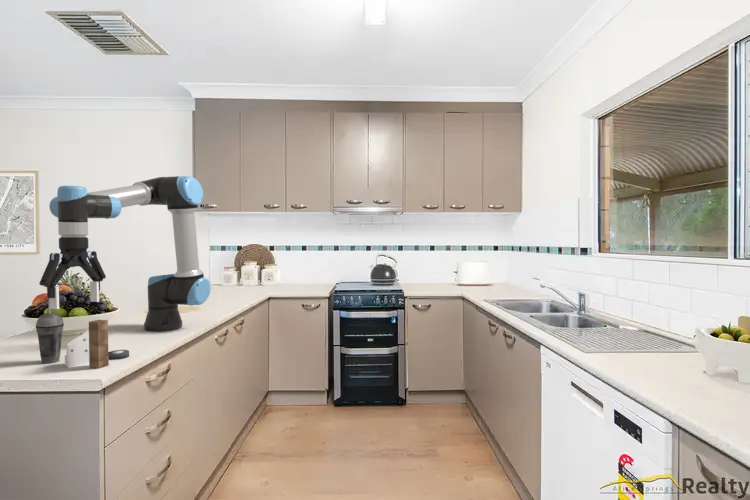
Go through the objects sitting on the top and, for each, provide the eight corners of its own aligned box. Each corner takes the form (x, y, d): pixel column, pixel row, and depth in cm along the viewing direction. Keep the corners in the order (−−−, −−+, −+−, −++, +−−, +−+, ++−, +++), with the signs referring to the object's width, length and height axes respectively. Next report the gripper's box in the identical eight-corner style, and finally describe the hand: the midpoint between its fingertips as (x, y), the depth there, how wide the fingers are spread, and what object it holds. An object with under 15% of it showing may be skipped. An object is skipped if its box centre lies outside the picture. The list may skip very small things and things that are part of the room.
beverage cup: (64, 357, 143) (63, 296, 143) (64, 362, 137) (63, 299, 137) (36, 360, 139) (35, 298, 139) (35, 366, 133) (33, 301, 133)
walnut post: (99, 364, 136) (98, 319, 135) (108, 365, 135) (107, 320, 134) (89, 367, 132) (88, 321, 132) (98, 368, 131) (98, 322, 131)
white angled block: (105, 352, 140) (89, 331, 137) (74, 374, 134) (56, 352, 130) (101, 350, 143) (85, 329, 139) (70, 372, 136) (53, 350, 133)
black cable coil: (118, 353, 148) (117, 348, 148) (133, 355, 146) (133, 350, 146) (101, 358, 142) (101, 353, 142) (117, 360, 140) (117, 355, 140)
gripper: (98, 236, 148) (100, 298, 149) (22, 237, 123) (25, 311, 124) (116, 236, 146) (118, 299, 147) (43, 237, 122) (45, 312, 123)
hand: (75, 305), depth 136 cm, fingers open, 13 cm apart
